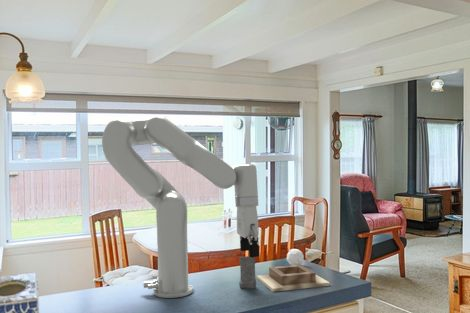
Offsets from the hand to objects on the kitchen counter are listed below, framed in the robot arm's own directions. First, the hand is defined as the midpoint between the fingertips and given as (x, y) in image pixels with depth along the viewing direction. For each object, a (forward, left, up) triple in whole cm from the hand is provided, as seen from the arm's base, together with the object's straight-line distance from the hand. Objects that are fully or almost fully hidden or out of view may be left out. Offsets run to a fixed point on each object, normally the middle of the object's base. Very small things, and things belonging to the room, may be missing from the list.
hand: (249, 253), depth 141 cm
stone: (-1, 0, -11) cm, 11 cm away
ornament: (+25, +21, -11) cm, 35 cm away
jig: (+15, +1, -11) cm, 19 cm away
